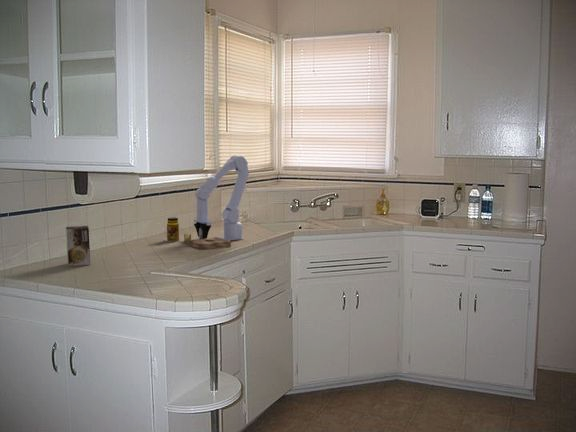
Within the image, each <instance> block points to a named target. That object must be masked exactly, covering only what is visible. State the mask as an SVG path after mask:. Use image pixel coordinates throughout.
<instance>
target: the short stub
mask: <svg viewBox="0 0 576 432" xmlns="http://www.w3.org/2000/svg"><path fill="white" fill-rule="evenodd" d="M189 240H192V233H184V234H183V242H184V243H189Z"/></svg>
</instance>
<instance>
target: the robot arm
mask: <svg viewBox="0 0 576 432" xmlns="http://www.w3.org/2000/svg"><path fill="white" fill-rule="evenodd" d="M248 164H249V162H248V161H247V159H246V158H245V157H244V156H242V155H232V156H231V157H230V158H228V159H227V160H226V162H225V163H224V164H223V165H222V166H221V167H220V169H219V170H218V171H217V173H215V175H213V176H210V177H207V178H206V181H205V182H204V183H203V184H201V185H200V187H198V188H197V189H196V191H195V192H194V195H195V197H196V217H194V218H193V222H194V223H193V226H194V228H195V231H196V233H197V234H196V235H197V237H198V238H199V228H200V227H201V230H202V237H203V238H208V235H209V232H210V230H211V228H212V222H211V221H210V220H209V200H208V199H209V198H210V194H212V192H213V191H214V190H215V189H216V188H217V187H218V186H219V184H220V183H219V182H220V180H222V178H224V176H226V175H227V174H228V173H229V171H233V170H235V172H236V173H237V178H236V181H235V183H234V187H233V190H232V192H231V193H232V194H231V196H230V200H229V202H228V204H226V206H225V209H224V210H223V212H222V214H221V216H222V219H223V237H220V238H221V239H225V240H228V241H236V240H237V241H238V240H243V239H244V238H243V225H242V223H241V222H240V221H238V220H239V219H240V207H239V206H240V204H241V203H240V202H241V200H242V196H243V194H244V190H245V188H246V184H247V181H248V178H249V175H250V173H249V168H248V167H249V166H248Z"/></svg>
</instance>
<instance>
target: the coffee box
mask: <svg viewBox="0 0 576 432" xmlns="http://www.w3.org/2000/svg"><path fill="white" fill-rule="evenodd" d="M65 231H66V232H65V233H66V248H67V249H66V251H67V252H66V253H67V266H68V267H79V266H89V265H91V249H90V248H91V247H90V228H89V225H75V226H66V227H65Z"/></svg>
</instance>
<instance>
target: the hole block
mask: <svg viewBox="0 0 576 432" xmlns="http://www.w3.org/2000/svg"><path fill="white" fill-rule="evenodd" d="M221 238H222V237H218V236H215V237H207V238H204V239H199V238H197V239H191V240H189V242H188V246H191V247H192V248H193V247H194V248H197V249H200V250H209V249H219V247H220V248H225V247H226V246H228V247H231V246H232V240H230V241H228V240H225V239H221ZM226 248H227V247H226Z"/></svg>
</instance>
